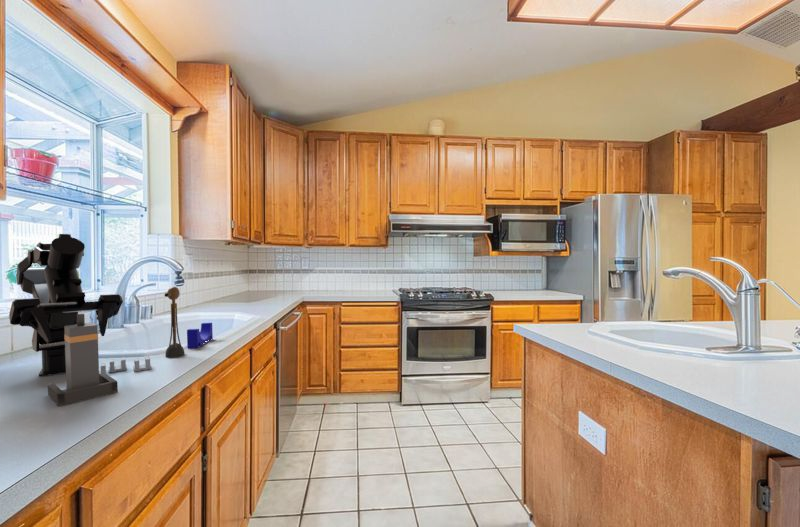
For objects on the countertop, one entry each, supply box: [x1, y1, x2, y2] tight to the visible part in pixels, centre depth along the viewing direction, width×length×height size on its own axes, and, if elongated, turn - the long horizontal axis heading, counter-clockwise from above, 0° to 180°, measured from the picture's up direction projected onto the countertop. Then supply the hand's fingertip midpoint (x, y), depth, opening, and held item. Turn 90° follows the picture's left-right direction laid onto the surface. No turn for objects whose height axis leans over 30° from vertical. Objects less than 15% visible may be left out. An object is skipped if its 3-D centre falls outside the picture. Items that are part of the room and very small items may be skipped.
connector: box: [64, 313, 100, 391], centre depth 79 cm, size 5×5×16 cm
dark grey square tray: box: [47, 373, 119, 407], centre depth 79 cm, size 10×10×2 cm
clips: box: [99, 355, 152, 375], centre depth 95 cm, size 7×13×3 cm, turn 128°
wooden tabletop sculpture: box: [164, 286, 185, 359], centre depth 108 cm, size 6×5×20 cm
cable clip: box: [186, 322, 214, 349], centre depth 123 cm, size 12×4×6 cm, turn 6°
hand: (77, 338), depth 82 cm, fingers open, 9 cm apart
